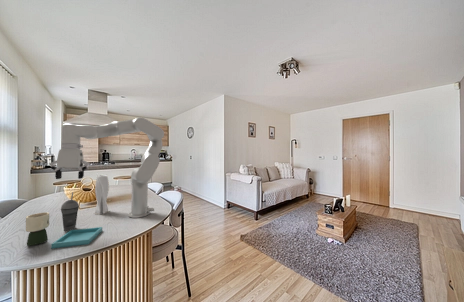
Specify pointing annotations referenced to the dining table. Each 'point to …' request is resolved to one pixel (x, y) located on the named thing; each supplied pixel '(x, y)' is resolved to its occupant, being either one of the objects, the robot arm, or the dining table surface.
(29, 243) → the character mug
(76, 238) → the tray
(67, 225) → the beverage cup
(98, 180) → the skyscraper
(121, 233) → the dining table surface
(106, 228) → the dining table surface
